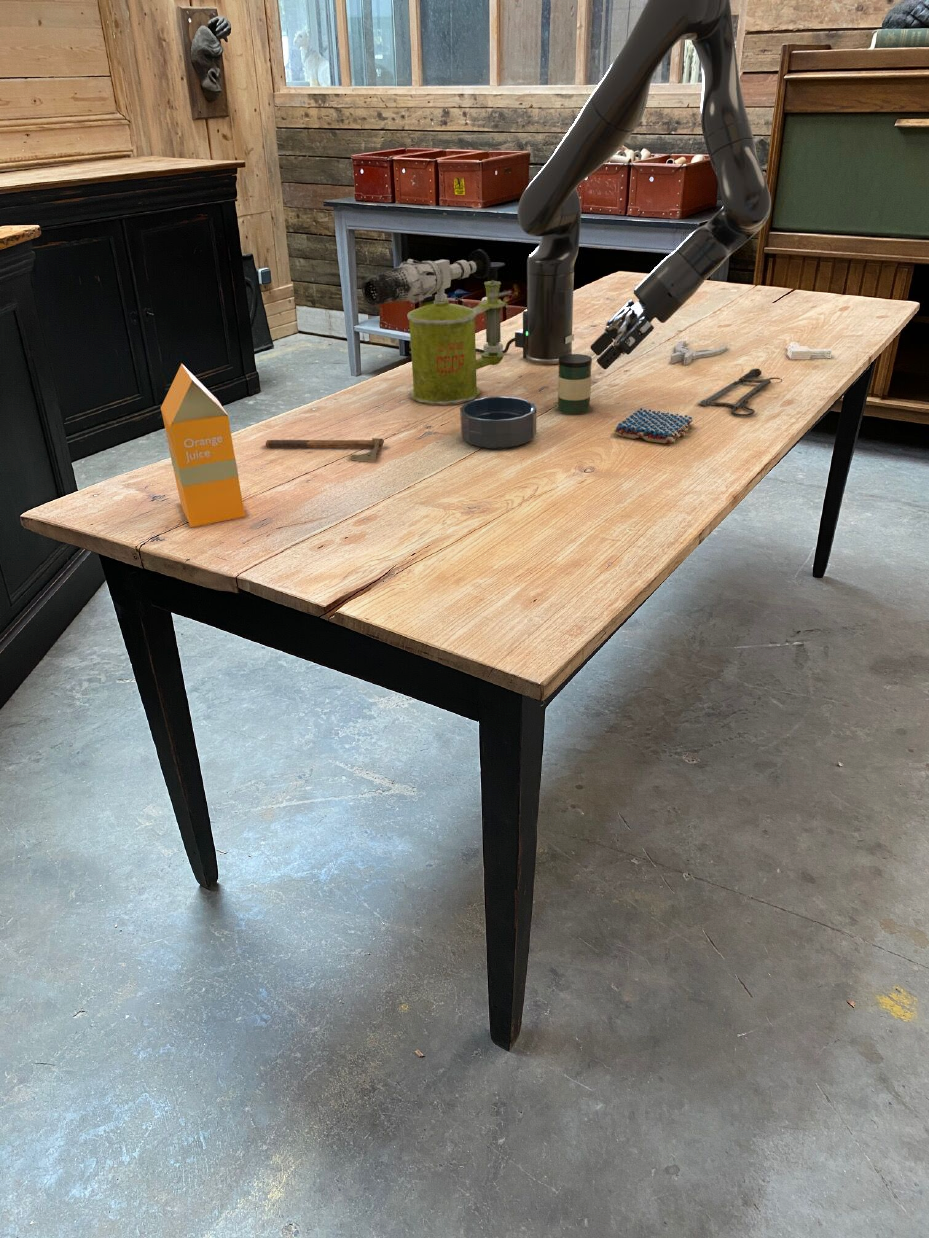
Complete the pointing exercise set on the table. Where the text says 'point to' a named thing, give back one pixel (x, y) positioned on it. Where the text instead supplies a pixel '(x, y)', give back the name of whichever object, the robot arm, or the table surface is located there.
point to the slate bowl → (498, 422)
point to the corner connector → (806, 352)
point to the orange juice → (201, 452)
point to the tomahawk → (369, 457)
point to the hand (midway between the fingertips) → (597, 358)
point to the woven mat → (654, 426)
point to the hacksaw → (745, 398)
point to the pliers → (688, 355)
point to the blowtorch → (443, 324)
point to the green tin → (574, 383)
